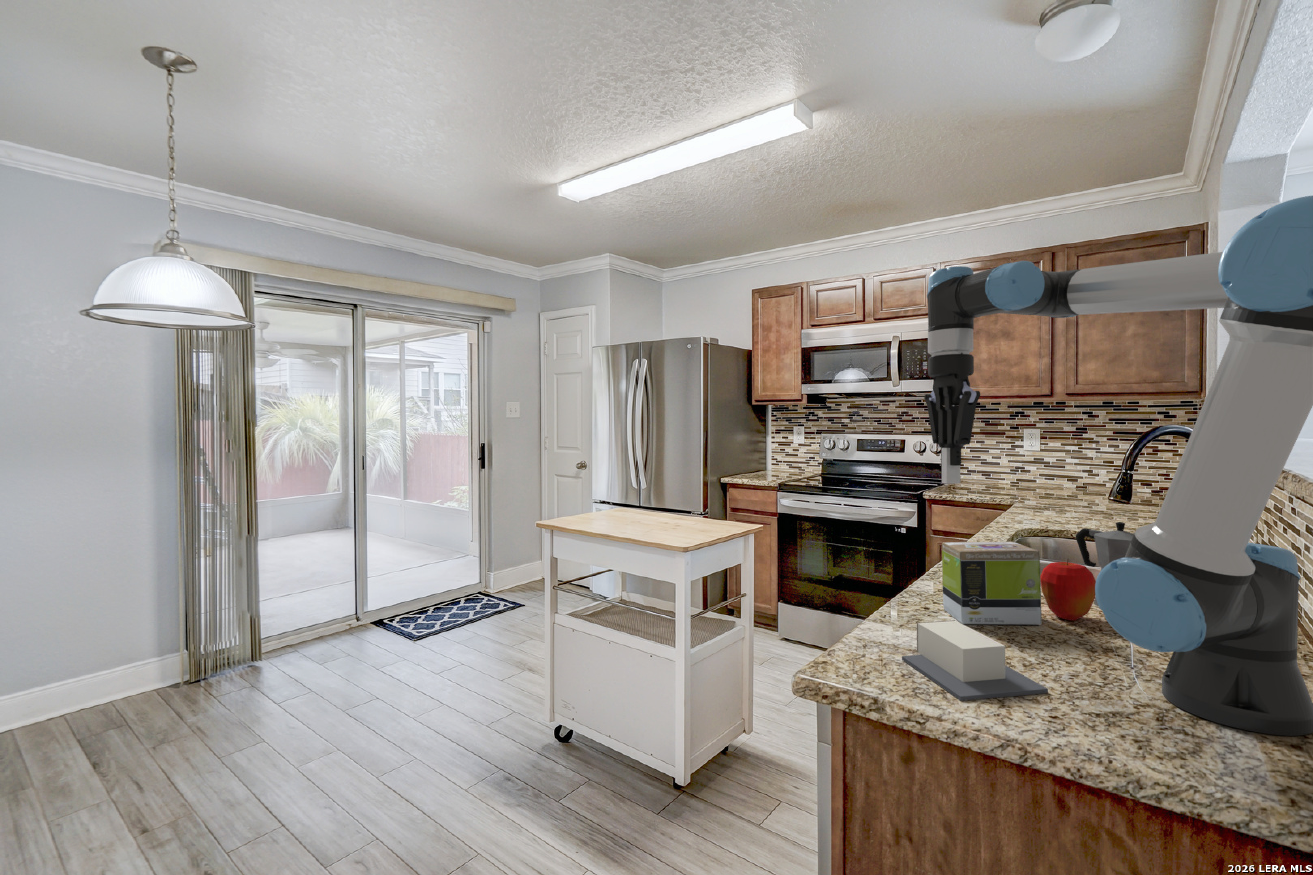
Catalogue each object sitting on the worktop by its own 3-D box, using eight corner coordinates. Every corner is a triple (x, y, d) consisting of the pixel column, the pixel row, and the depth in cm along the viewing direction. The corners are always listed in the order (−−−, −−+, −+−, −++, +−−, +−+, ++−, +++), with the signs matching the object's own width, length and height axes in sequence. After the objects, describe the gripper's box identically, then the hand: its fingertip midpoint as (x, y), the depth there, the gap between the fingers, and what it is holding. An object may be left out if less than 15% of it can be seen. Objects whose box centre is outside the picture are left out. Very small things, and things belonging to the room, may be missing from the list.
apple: (1101, 617, 119) (1101, 558, 119) (1090, 628, 113) (1090, 565, 112) (1047, 607, 126) (1047, 551, 125) (1034, 617, 120) (1034, 558, 119)
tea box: (1016, 610, 124) (1016, 540, 124) (1042, 627, 114) (1042, 550, 114) (941, 609, 126) (941, 539, 125) (960, 625, 116) (960, 550, 115)
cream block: (954, 649, 102) (1005, 678, 90) (917, 651, 101) (963, 682, 89) (954, 620, 102) (1005, 645, 90) (916, 622, 101) (963, 649, 89)
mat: (1048, 692, 87) (1048, 688, 87) (960, 700, 85) (960, 696, 85) (977, 653, 101) (977, 650, 101) (901, 659, 99) (901, 656, 99)
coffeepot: (1169, 612, 122) (1170, 524, 121) (1144, 619, 118) (1144, 528, 117) (1088, 593, 136) (1088, 514, 135) (1063, 599, 132) (1063, 518, 131)
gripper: (994, 350, 103) (994, 486, 103) (946, 358, 116) (947, 479, 116) (954, 350, 102) (955, 487, 102) (911, 358, 115) (911, 480, 115)
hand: (950, 483), depth 109 cm, fingers closed
